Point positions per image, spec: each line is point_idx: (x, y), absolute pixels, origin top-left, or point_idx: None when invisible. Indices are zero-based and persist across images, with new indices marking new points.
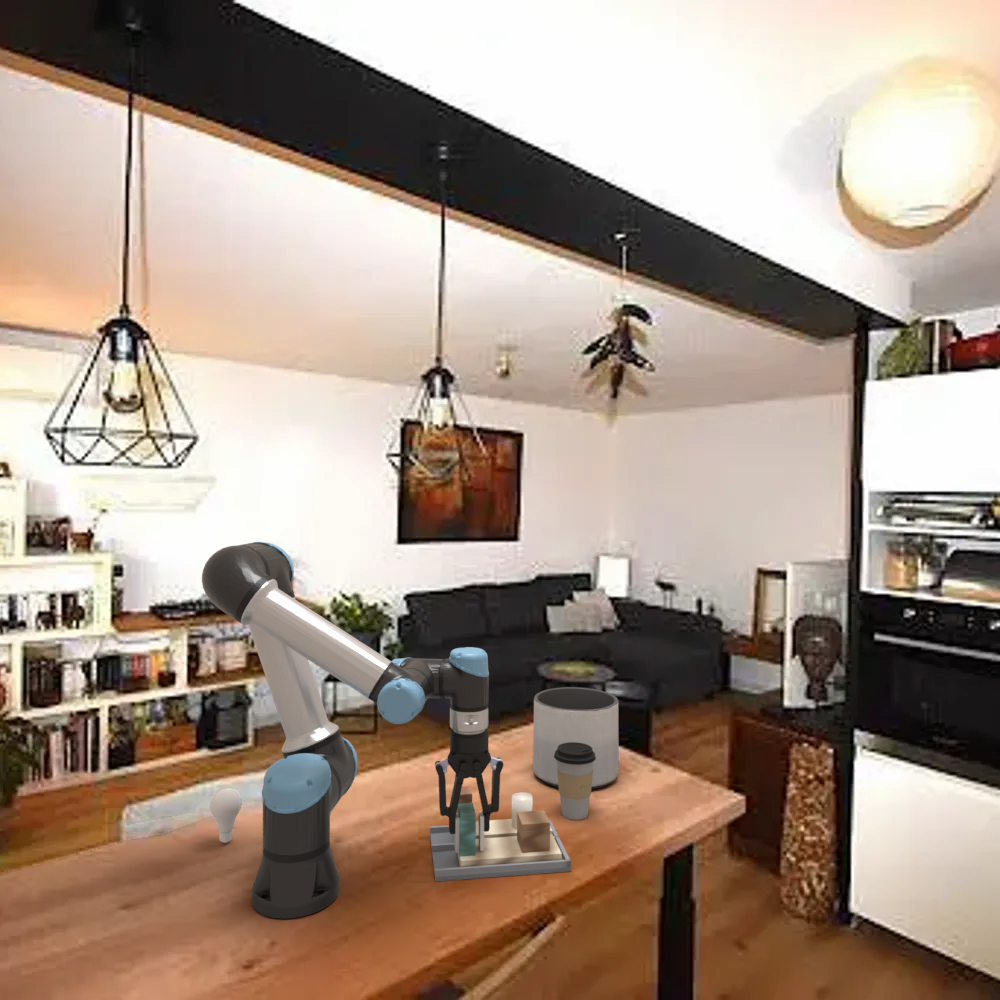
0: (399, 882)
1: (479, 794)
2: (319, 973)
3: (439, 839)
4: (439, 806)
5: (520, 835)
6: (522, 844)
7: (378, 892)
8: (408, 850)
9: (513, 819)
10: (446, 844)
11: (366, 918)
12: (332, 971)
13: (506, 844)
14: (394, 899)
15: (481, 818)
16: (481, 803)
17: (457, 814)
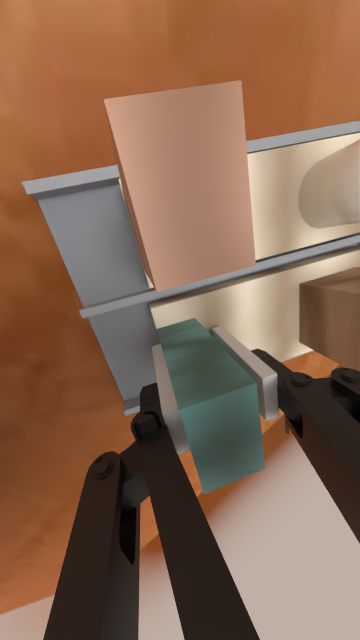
0: (55, 418)
1: (348, 499)
2: (41, 582)
3: (83, 242)
4: (84, 483)
5: (326, 336)
6: (315, 349)
7: (27, 453)
8: (9, 291)
9: (322, 208)
10: (120, 305)
11: (45, 505)
12: (56, 575)
13: (273, 311)
14: (69, 459)
15: (268, 417)
16: (313, 459)
17: (177, 421)
